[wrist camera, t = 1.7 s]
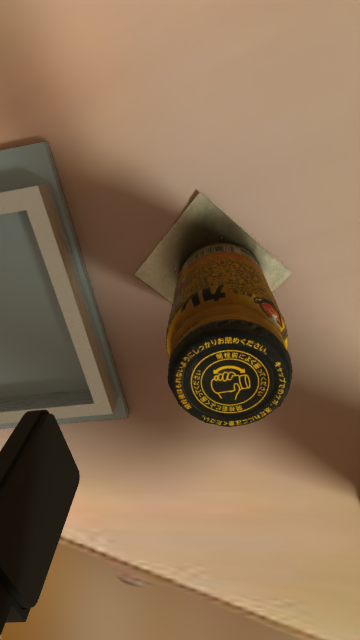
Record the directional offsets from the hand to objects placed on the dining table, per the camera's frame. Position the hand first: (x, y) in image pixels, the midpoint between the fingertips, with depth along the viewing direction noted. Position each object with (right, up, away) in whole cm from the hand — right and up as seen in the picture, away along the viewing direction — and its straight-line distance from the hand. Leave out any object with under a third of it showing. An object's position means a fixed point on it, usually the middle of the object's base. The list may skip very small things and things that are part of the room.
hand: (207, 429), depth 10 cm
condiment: (+1, +7, +14) cm, 16 cm away
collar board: (-16, +4, +17) cm, 24 cm away
